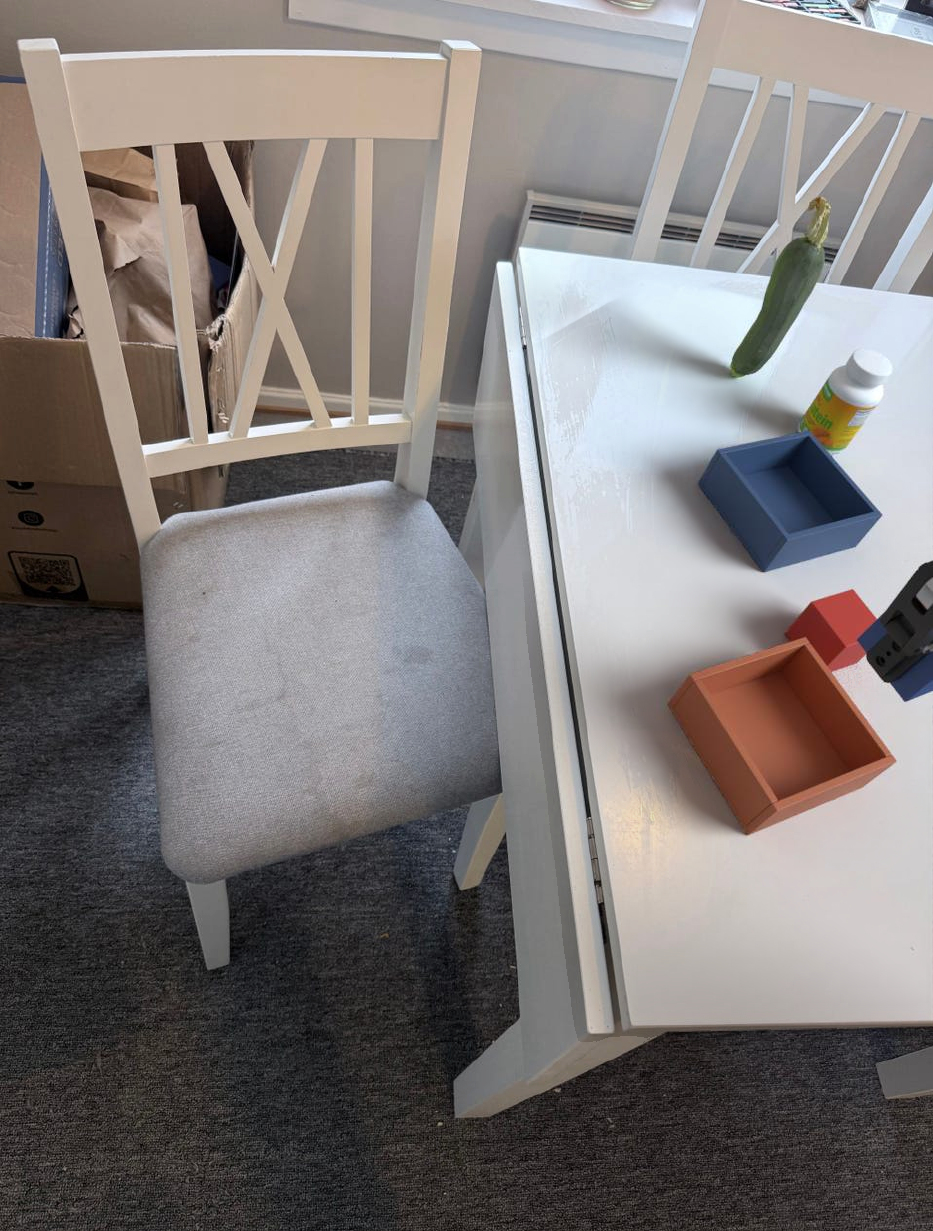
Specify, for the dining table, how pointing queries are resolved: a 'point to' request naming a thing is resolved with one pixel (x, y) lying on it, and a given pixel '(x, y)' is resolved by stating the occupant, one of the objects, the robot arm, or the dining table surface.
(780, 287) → the vegetable
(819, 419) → the supplement bottle
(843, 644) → the red block
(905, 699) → the blue block
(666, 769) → the dining table surface
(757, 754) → the terracotta bin
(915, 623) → the robot arm
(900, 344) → the dining table surface
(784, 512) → the blue bin
